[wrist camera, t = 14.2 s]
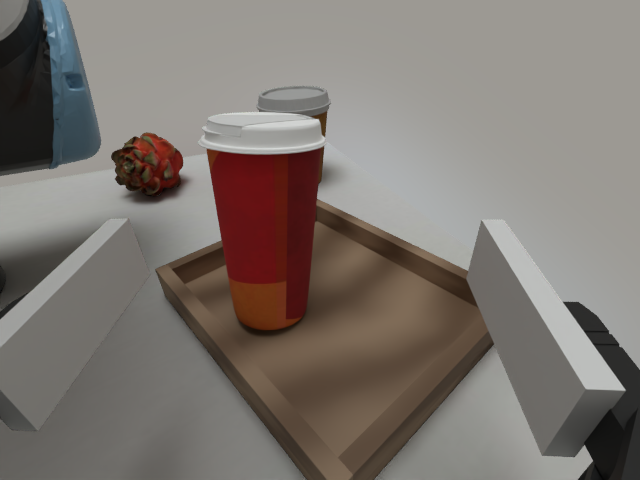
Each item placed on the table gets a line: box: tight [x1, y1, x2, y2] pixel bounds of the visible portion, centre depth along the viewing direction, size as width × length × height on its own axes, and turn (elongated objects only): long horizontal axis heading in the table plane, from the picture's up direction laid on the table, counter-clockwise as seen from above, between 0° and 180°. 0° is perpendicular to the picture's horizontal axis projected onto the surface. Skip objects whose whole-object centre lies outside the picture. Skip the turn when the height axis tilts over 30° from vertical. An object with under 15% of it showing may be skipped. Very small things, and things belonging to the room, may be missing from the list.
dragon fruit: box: [111, 133, 183, 196], centre depth 49 cm, size 8×8×12 cm
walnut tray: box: [155, 199, 494, 480], centre depth 28 cm, size 22×18×3 cm
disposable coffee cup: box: [256, 86, 331, 184], centre depth 48 cm, size 10×10×12 cm
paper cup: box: [197, 112, 327, 330], centre depth 24 cm, size 8×8×14 cm
